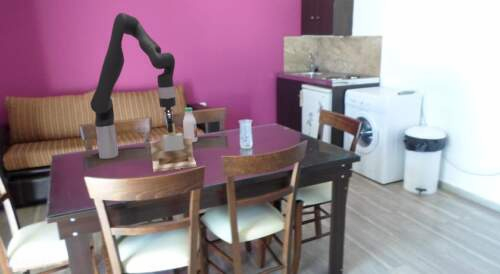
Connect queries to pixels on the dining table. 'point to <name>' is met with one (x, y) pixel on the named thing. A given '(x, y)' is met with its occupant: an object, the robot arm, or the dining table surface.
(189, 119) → the milk bottle
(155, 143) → the woven pattern crate
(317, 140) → the dining table surface
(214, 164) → the dining table surface
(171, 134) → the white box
